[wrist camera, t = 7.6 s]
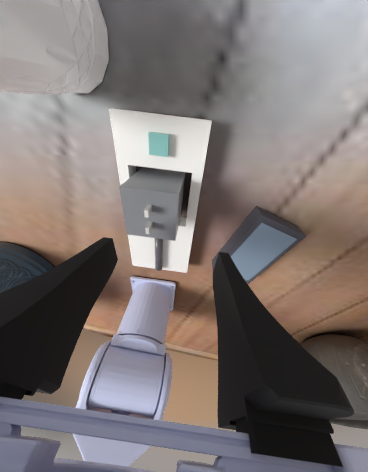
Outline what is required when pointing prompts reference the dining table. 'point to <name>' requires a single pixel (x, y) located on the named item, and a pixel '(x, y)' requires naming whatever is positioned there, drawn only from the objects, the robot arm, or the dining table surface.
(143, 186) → the plug
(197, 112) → the dining table surface
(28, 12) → the white cup
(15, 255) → the canister
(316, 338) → the bowl
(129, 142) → the white flat block
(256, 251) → the phone
